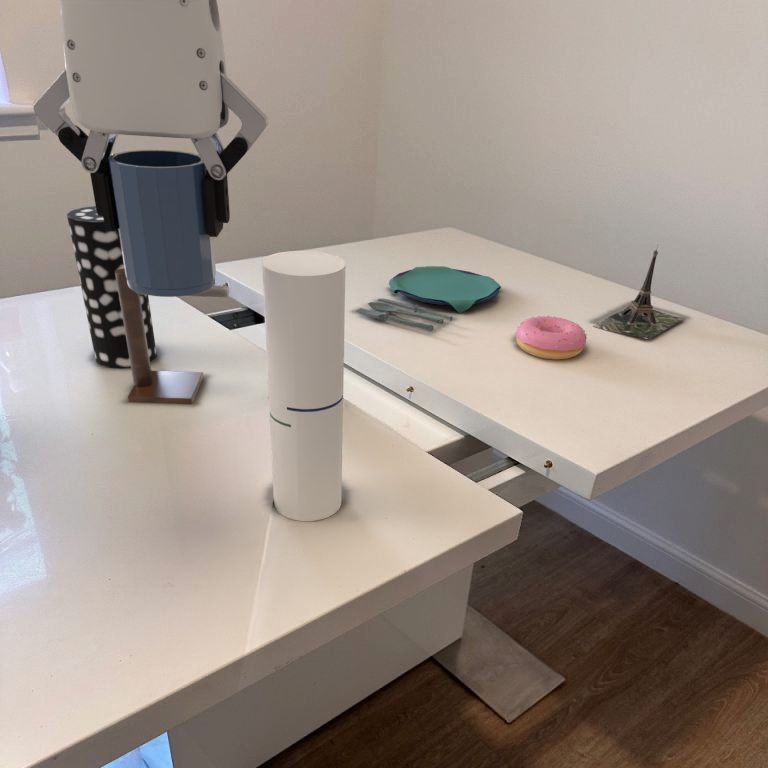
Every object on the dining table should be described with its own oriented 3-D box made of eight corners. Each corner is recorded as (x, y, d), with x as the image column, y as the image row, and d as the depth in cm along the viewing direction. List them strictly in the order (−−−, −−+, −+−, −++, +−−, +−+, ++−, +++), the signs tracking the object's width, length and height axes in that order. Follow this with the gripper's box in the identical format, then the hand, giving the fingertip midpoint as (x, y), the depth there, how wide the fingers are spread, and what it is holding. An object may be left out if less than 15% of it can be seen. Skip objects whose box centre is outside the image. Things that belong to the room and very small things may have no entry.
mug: (207, 299, 54) (195, 170, 49) (116, 294, 54) (95, 164, 49) (230, 257, 63) (223, 144, 58) (152, 253, 63) (137, 138, 58)
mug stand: (127, 407, 91) (105, 281, 82) (143, 380, 98) (124, 261, 89) (232, 410, 92) (221, 286, 83) (240, 383, 98) (232, 265, 89)
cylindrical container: (332, 525, 73) (334, 279, 58) (265, 515, 74) (250, 270, 59) (347, 487, 79) (353, 255, 64) (284, 479, 79) (276, 247, 65)
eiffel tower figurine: (648, 343, 117) (671, 260, 110) (592, 326, 123) (610, 246, 115) (684, 321, 127) (707, 243, 119) (631, 306, 132) (650, 230, 124)
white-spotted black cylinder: (125, 345, 107) (100, 202, 95) (169, 357, 104) (150, 212, 93) (83, 364, 101) (52, 215, 89) (129, 378, 98) (103, 225, 86)
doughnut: (528, 364, 108) (533, 338, 106) (504, 337, 117) (507, 312, 114) (595, 361, 110) (601, 336, 108) (566, 334, 119) (571, 310, 116)
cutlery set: (515, 292, 135) (517, 280, 134) (439, 340, 114) (441, 326, 113) (424, 271, 144) (425, 259, 142) (337, 311, 123) (337, 298, 121)
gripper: (278, -57, 48) (285, 223, 58) (13, -76, 47) (67, 211, 57) (264, -65, 42) (274, 250, 52) (-41, -87, 41) (31, 236, 51)
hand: (165, 227), depth 55 cm, fingers closed on mug, 6 cm apart
